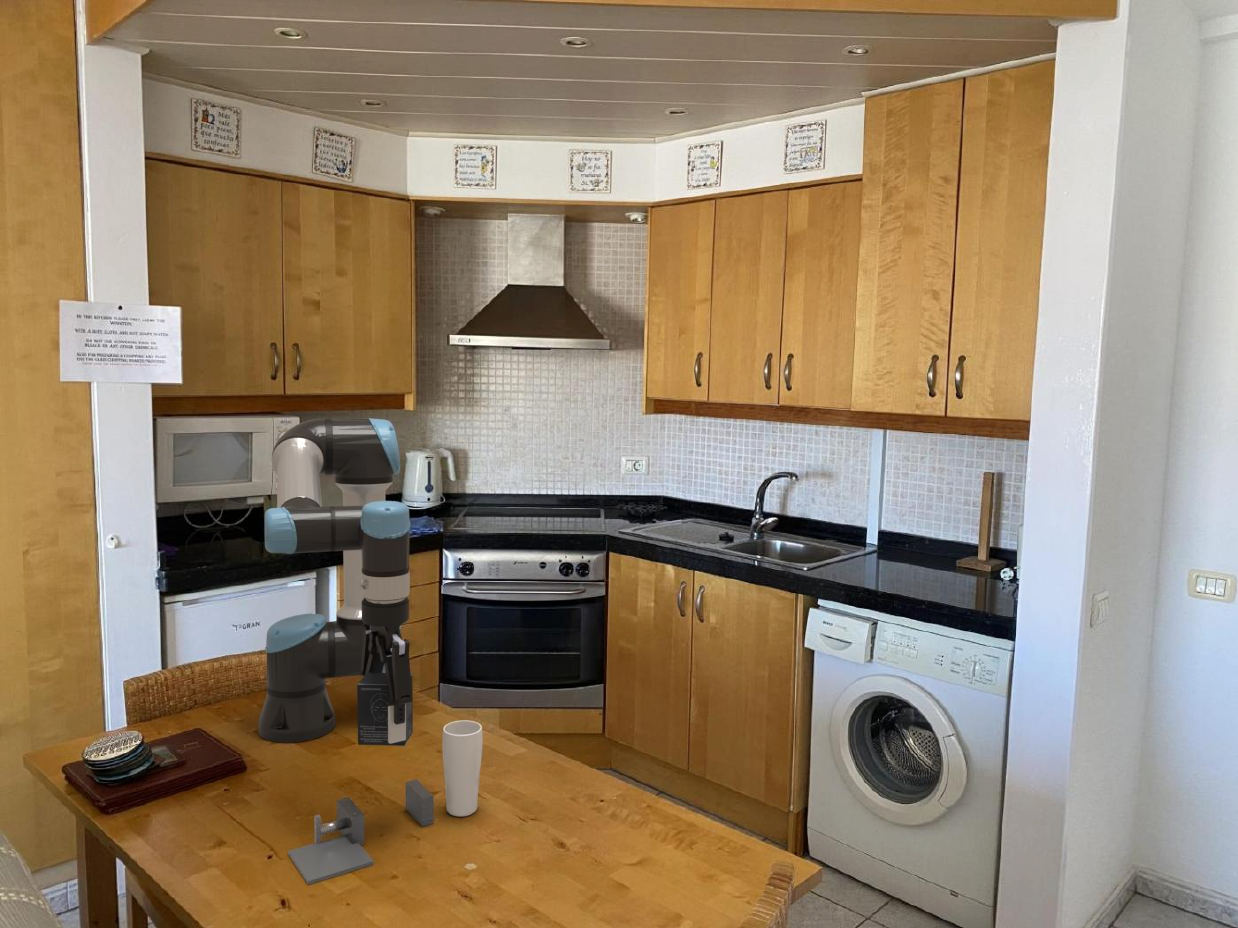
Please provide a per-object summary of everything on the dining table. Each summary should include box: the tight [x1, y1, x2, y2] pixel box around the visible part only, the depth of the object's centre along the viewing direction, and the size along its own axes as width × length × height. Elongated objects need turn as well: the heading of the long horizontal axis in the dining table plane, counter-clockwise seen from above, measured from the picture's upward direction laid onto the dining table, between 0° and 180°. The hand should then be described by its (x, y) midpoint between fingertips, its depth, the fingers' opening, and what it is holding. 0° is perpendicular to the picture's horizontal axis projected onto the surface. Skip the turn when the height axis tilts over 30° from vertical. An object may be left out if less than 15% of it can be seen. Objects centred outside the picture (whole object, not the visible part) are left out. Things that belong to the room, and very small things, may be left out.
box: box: [356, 672, 414, 747], centre depth 151 cm, size 8×6×11 cm
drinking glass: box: [441, 719, 483, 817], centre depth 158 cm, size 7×7×15 cm
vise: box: [313, 778, 435, 846], centre depth 151 cm, size 7×19×5 cm, turn 126°
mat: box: [287, 834, 374, 886], centre depth 143 cm, size 10×10×1 cm
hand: (385, 730), depth 151 cm, fingers closed on box, 9 cm apart
